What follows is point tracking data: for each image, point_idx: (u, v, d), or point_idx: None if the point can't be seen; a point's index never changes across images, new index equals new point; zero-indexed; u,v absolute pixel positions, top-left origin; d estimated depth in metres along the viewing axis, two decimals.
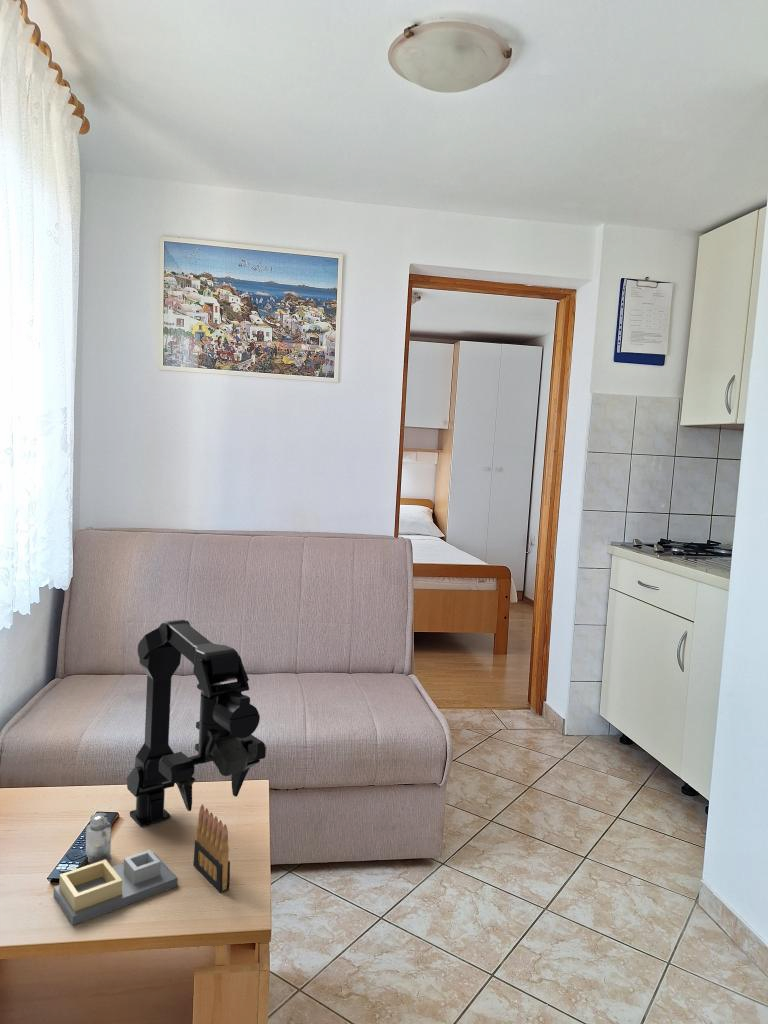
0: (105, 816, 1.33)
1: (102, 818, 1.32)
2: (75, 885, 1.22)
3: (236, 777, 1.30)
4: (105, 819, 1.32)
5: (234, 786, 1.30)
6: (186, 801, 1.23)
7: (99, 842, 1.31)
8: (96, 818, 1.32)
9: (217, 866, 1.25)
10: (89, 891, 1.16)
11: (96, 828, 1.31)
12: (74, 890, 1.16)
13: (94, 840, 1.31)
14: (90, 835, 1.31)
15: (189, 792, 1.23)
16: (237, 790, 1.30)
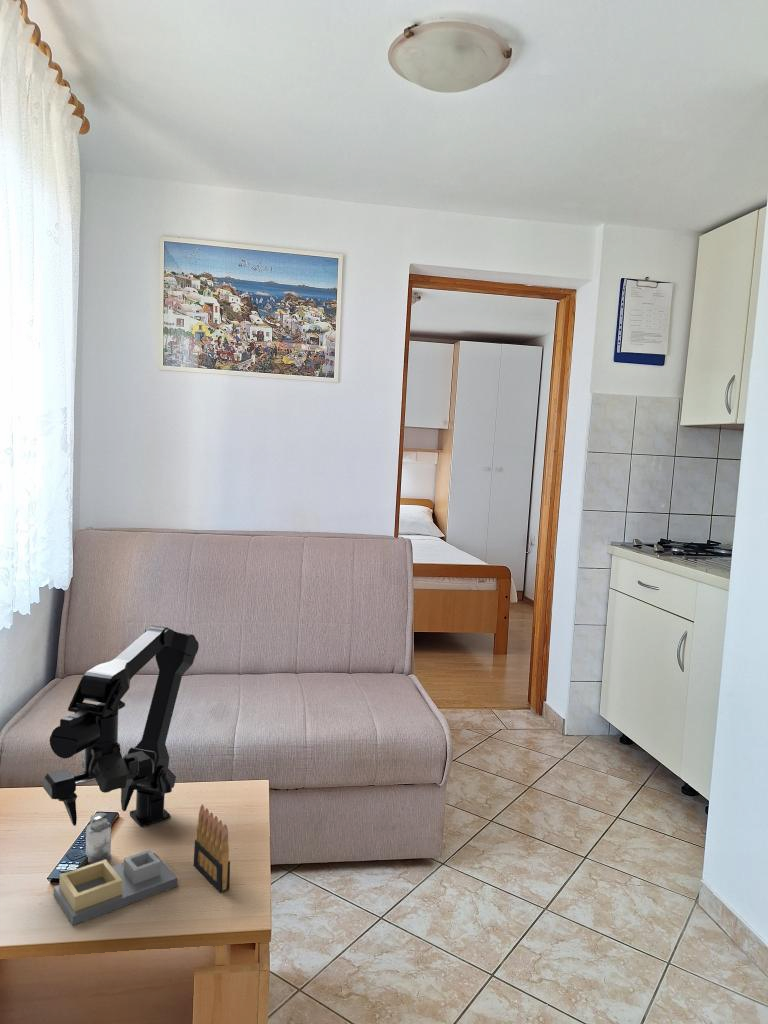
0: (105, 816, 1.33)
1: (102, 818, 1.32)
2: (75, 885, 1.22)
3: (124, 792, 1.35)
4: (105, 819, 1.32)
5: (123, 801, 1.36)
6: (70, 816, 1.29)
7: (99, 842, 1.31)
8: (96, 818, 1.32)
9: (217, 866, 1.25)
10: (89, 891, 1.16)
11: (96, 828, 1.31)
12: (74, 890, 1.16)
13: (94, 840, 1.31)
14: (90, 835, 1.31)
15: (73, 808, 1.28)
16: (125, 805, 1.35)
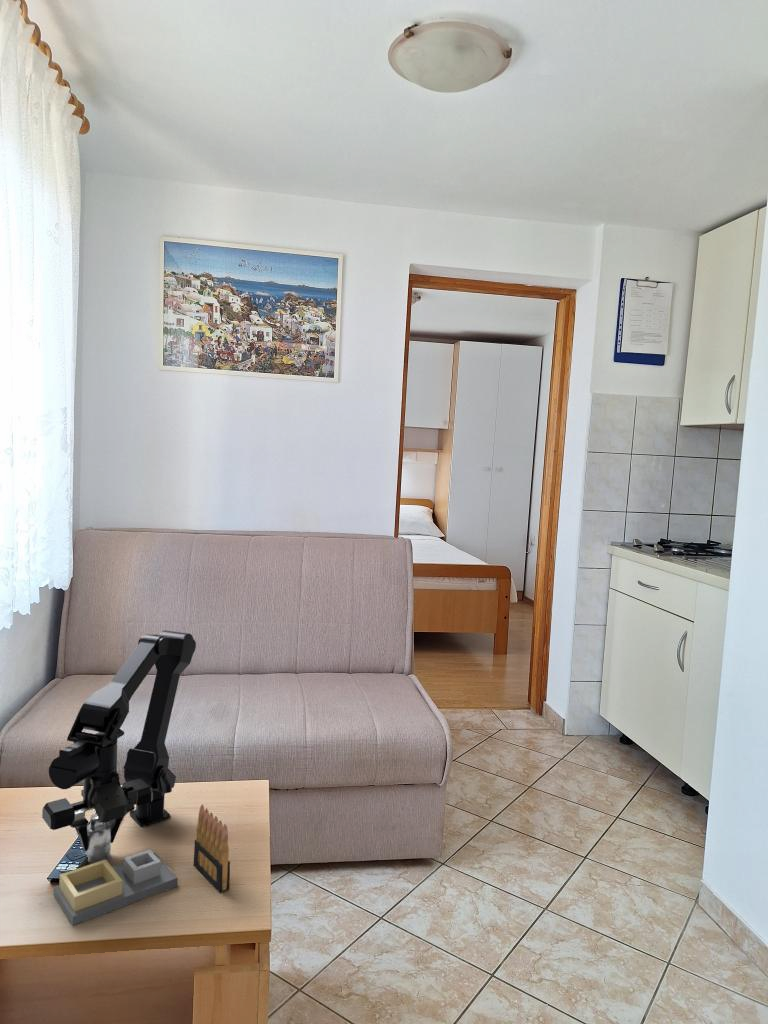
0: None
1: None
2: (75, 885, 1.22)
3: (111, 824, 1.34)
4: None
5: None
6: (82, 842, 1.30)
7: (99, 842, 1.31)
8: (96, 818, 1.32)
9: (217, 866, 1.25)
10: (89, 891, 1.16)
11: (96, 828, 1.31)
12: (74, 890, 1.16)
13: (94, 840, 1.31)
14: (90, 835, 1.31)
15: (84, 833, 1.30)
16: (112, 837, 1.34)
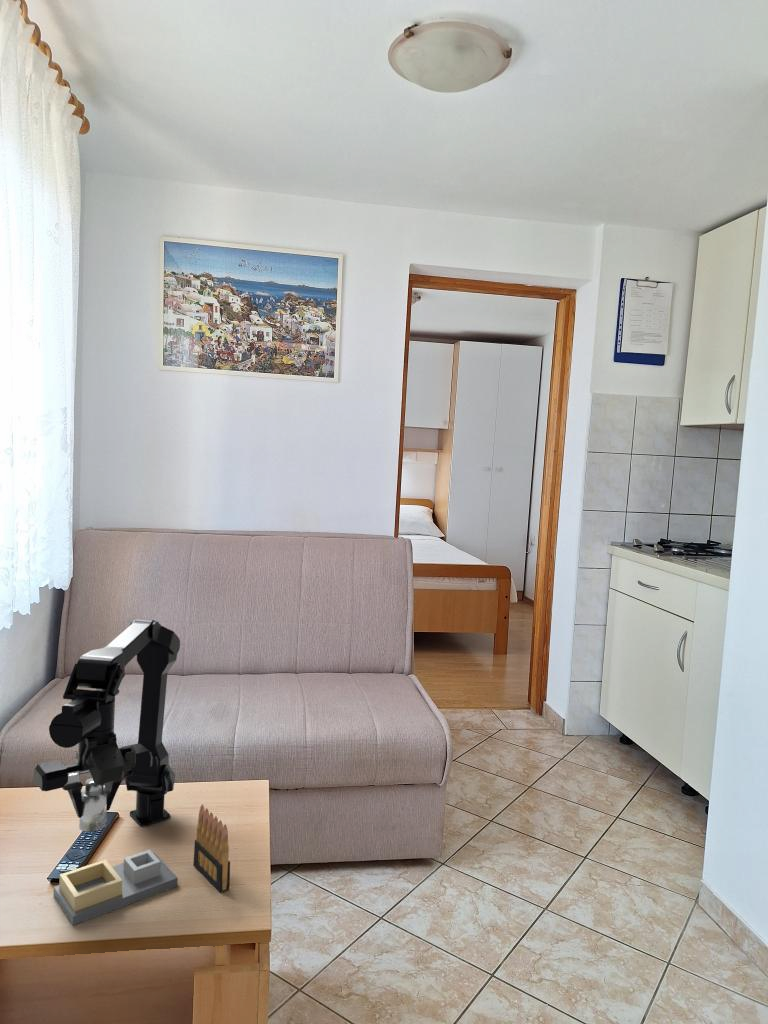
0: None
1: None
2: (75, 885, 1.22)
3: (108, 790, 1.25)
4: None
5: None
6: (76, 807, 1.21)
7: (94, 808, 1.22)
8: (91, 782, 1.23)
9: (217, 866, 1.25)
10: (89, 891, 1.16)
11: (91, 793, 1.22)
12: (74, 890, 1.16)
13: (88, 806, 1.22)
14: (85, 800, 1.22)
15: (78, 798, 1.21)
16: (108, 804, 1.25)
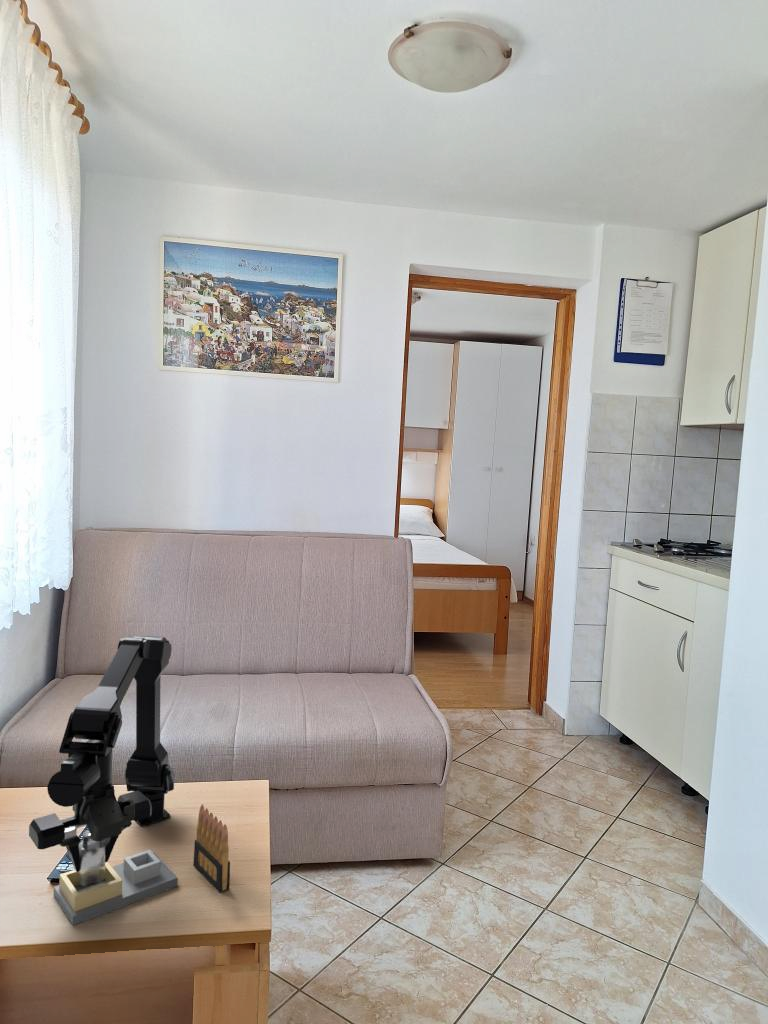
0: None
1: None
2: (75, 885, 1.22)
3: (106, 841, 1.22)
4: None
5: None
6: (73, 862, 1.18)
7: (92, 862, 1.18)
8: (89, 835, 1.19)
9: (217, 866, 1.25)
10: (89, 891, 1.16)
11: (89, 846, 1.18)
12: (74, 890, 1.16)
13: (86, 860, 1.18)
14: (83, 854, 1.18)
15: (75, 853, 1.17)
16: (107, 855, 1.21)
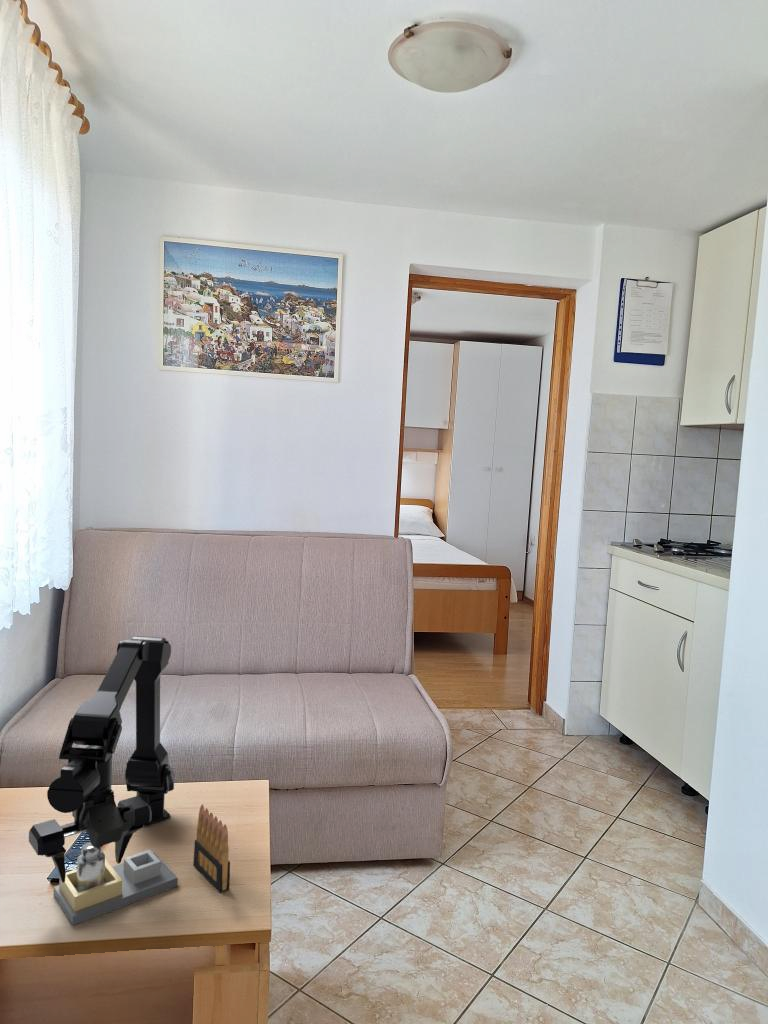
0: None
1: (95, 848, 1.19)
2: (75, 885, 1.22)
3: (119, 843, 1.23)
4: (98, 849, 1.19)
5: (117, 852, 1.23)
6: (59, 872, 1.16)
7: (91, 875, 1.18)
8: (88, 848, 1.19)
9: (217, 866, 1.25)
10: (89, 891, 1.16)
11: (88, 859, 1.18)
12: (74, 890, 1.16)
13: (86, 873, 1.18)
14: (82, 867, 1.18)
15: (61, 863, 1.15)
16: (120, 857, 1.23)
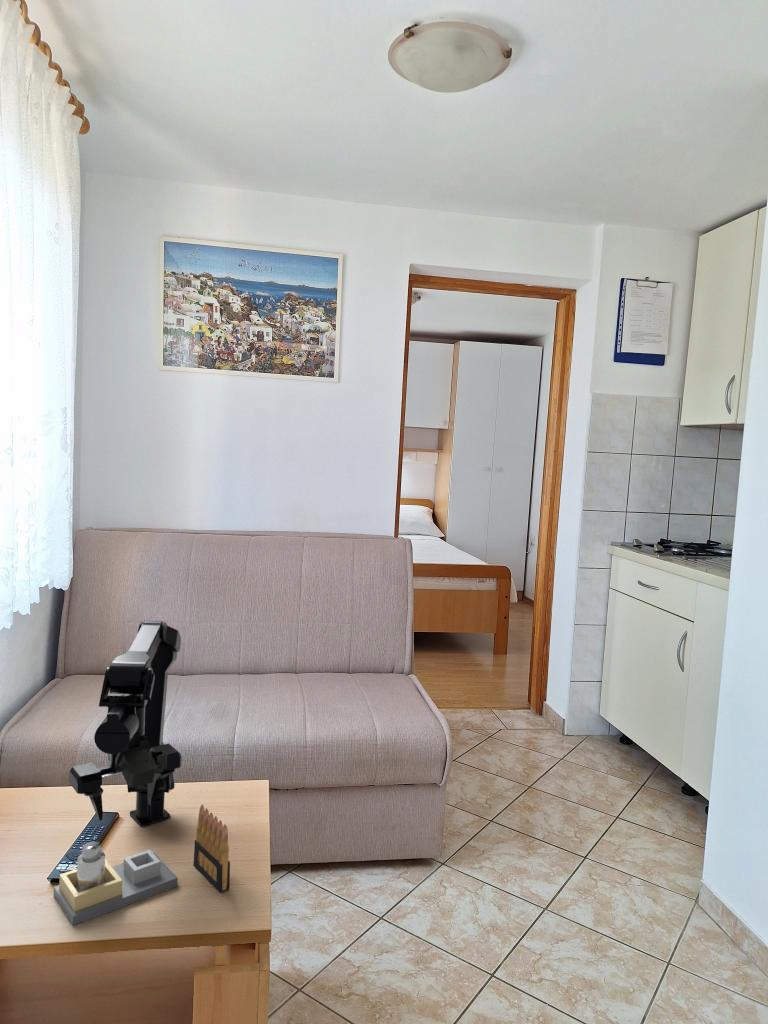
0: (98, 846, 1.20)
1: (95, 848, 1.19)
2: (75, 885, 1.22)
3: (151, 786, 1.31)
4: (98, 849, 1.19)
5: (149, 795, 1.31)
6: (96, 811, 1.24)
7: (92, 875, 1.18)
8: (88, 848, 1.19)
9: (217, 866, 1.25)
10: (89, 891, 1.16)
11: (88, 860, 1.18)
12: (74, 890, 1.16)
13: (86, 873, 1.18)
14: (82, 867, 1.18)
15: (99, 802, 1.23)
16: (152, 799, 1.30)
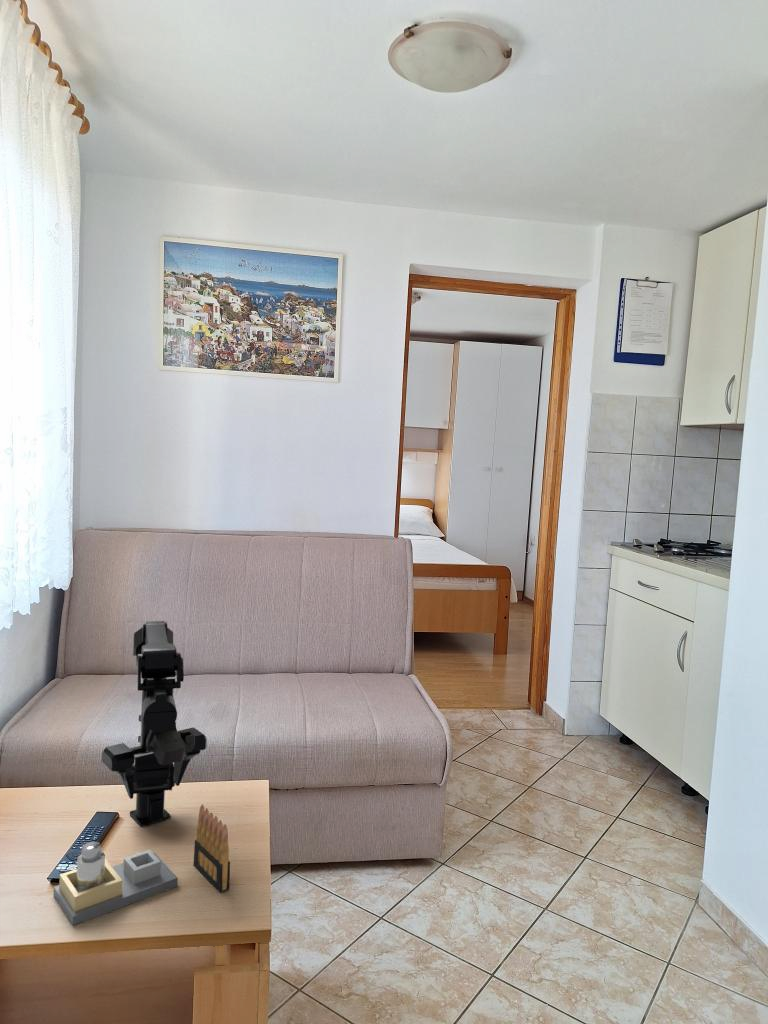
0: (98, 846, 1.20)
1: (95, 848, 1.19)
2: (75, 885, 1.22)
3: (178, 767, 1.38)
4: (98, 849, 1.19)
5: (176, 776, 1.38)
6: (128, 789, 1.31)
7: (92, 875, 1.18)
8: (88, 848, 1.19)
9: (217, 866, 1.25)
10: (89, 891, 1.16)
11: (88, 860, 1.18)
12: (74, 890, 1.16)
13: (86, 873, 1.18)
14: (82, 867, 1.18)
15: (130, 781, 1.31)
16: (179, 780, 1.38)
